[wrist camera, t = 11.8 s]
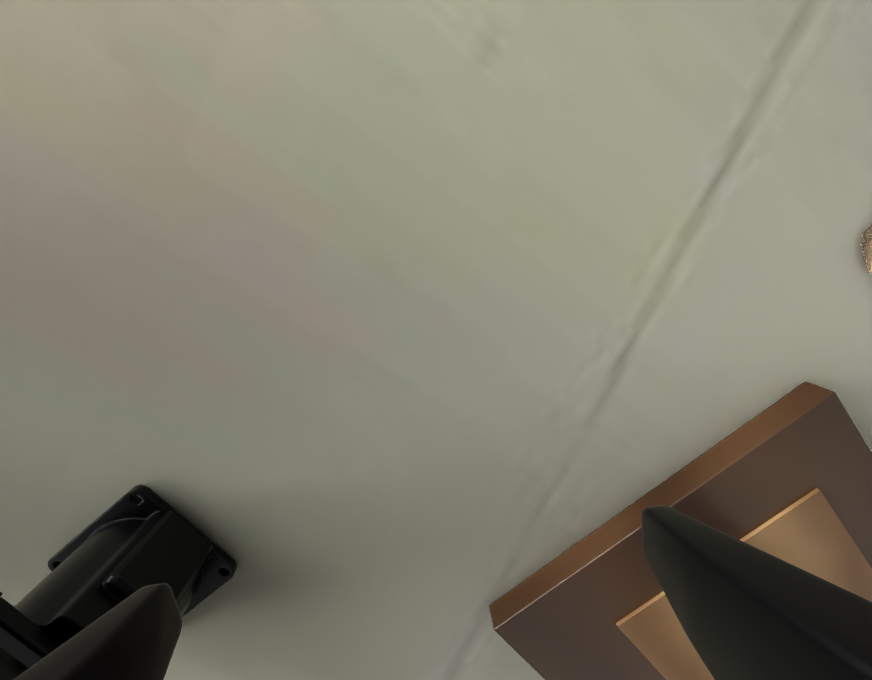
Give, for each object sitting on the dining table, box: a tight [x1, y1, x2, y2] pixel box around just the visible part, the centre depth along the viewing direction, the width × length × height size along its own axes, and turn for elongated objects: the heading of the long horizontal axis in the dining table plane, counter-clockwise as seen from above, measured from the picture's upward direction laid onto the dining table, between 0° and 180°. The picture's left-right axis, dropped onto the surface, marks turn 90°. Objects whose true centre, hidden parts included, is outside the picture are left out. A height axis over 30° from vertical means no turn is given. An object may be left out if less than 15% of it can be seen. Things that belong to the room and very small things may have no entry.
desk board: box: [489, 382, 872, 680], centre depth 23 cm, size 20×16×2 cm
